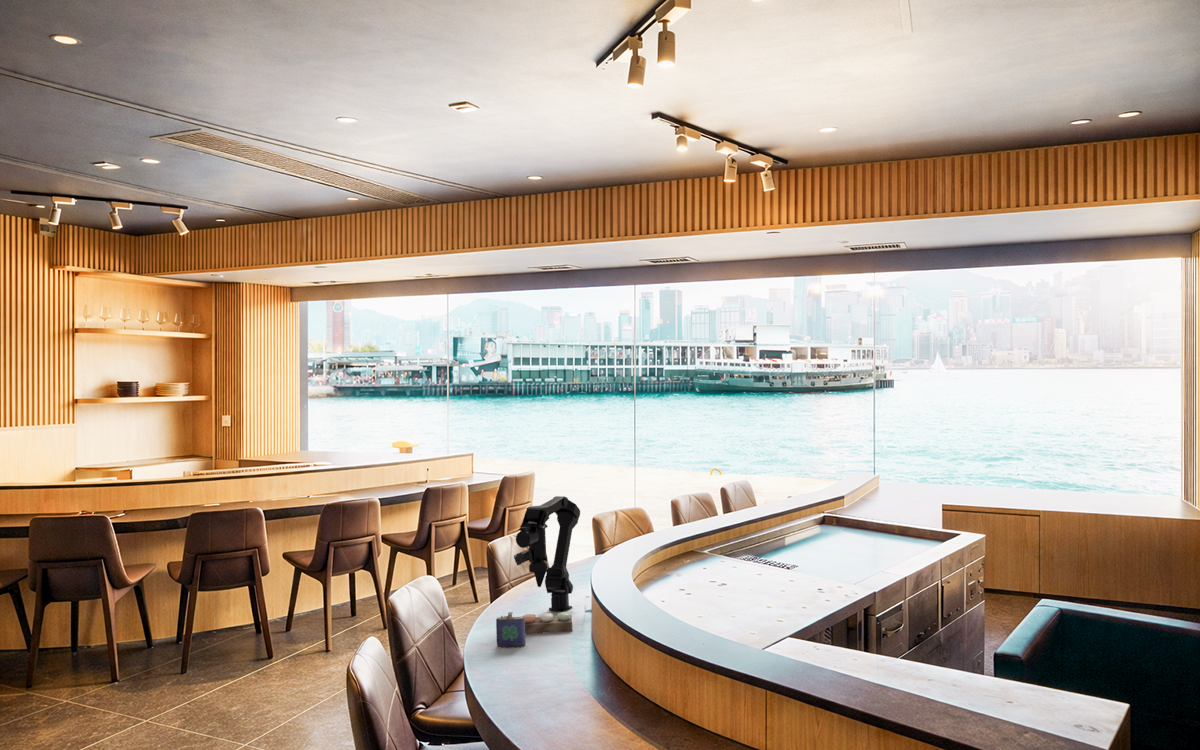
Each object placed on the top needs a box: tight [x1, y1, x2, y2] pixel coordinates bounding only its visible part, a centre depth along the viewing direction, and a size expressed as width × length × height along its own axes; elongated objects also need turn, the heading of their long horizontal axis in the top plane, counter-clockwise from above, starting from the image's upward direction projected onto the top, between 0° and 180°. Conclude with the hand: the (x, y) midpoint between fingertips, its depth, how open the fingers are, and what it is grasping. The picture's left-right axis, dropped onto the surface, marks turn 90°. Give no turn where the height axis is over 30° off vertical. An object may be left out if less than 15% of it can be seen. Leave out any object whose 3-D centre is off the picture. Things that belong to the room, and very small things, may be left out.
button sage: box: [557, 611, 572, 621], centre depth 245 cm, size 4×4×2 cm
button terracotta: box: [521, 613, 536, 623], centre depth 244 cm, size 4×4×2 cm
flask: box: [495, 611, 526, 649], centre depth 228 cm, size 9×3×11 cm, turn 87°
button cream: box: [539, 612, 554, 622], centre depth 244 cm, size 4×4×2 cm
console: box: [525, 615, 573, 635], centre depth 244 cm, size 17×8×3 cm, turn 94°
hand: (539, 586), depth 254 cm, fingers closed
